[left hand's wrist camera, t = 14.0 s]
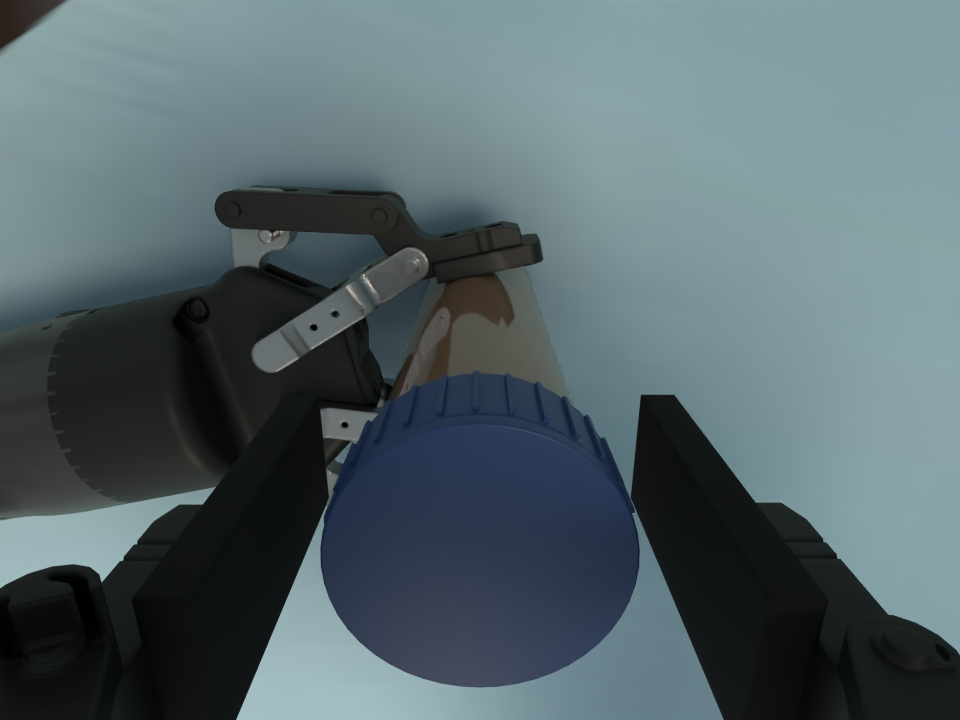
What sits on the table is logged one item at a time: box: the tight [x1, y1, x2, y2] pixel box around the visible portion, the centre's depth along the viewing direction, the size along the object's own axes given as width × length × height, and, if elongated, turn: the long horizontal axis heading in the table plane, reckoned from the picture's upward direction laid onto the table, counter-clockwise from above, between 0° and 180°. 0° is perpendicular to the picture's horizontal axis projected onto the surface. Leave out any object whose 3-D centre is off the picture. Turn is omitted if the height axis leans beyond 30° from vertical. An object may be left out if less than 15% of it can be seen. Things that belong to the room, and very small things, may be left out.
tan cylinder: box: [388, 266, 574, 407], centre depth 20 cm, size 5×5×19 cm
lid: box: [321, 371, 640, 687], centre depth 11 cm, size 6×6×2 cm
